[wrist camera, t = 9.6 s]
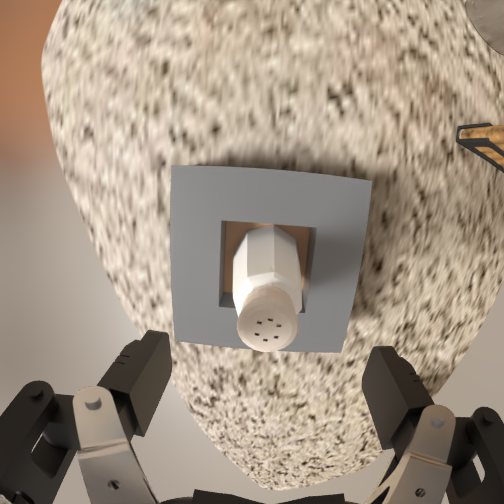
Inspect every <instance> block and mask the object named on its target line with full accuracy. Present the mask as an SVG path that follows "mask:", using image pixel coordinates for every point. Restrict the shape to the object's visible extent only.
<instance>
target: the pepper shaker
mask: <svg viewBox="0 0 504 504" xmlns="http://www.w3.org/2000/svg"><path fill="white" fill-rule="evenodd" d="M233 299H234V303H235V307H236V310H237V314H238V320H237V331H238V334H239V337H240V338H241V340H242V341H243V342H244V343H245V344H246V345H247V346H249V347H251V348H252V349H254V350H258V351H262V352H273V351H278V350H280V349H283V348H285V347H286V346H288V345H289V344H291V343H292V341H293V340H294V339H295V338H296V336H297V333H298V330H299V321H298V317H297V315H298V313H299V312H300V311H301V309H302V288H301V268H300V259H299V254H298V249H297V244H296V239H295V238H293V237H292V236H290V235H289V234H287V233H286V232H284V231H283V230H281V229H279V228H278V227H276V226H275V225H270V226H265V227H260V228H256V229H251V230H247V232H246V233H245V235H244V236H243V238H242V240H241V241H240V243H239V244H238V246H237V247H236V249H235V251H234V259H233Z"/></svg>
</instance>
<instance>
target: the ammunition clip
mask: <svg viewBox="0 0 504 504" xmlns="http://www.w3.org/2000/svg"><path fill="white" fill-rule="evenodd" d="M456 142H457V143H459V144H460V145H462V146H464V147H466V148H467V149H469V150H470V151H472V152H474V153H475V154H477V155H478V156H480V157H481V158H483V159H485V160H486V161H488V162H489V163H490V164H492V165H493V166H495V167H496V168H498V169H499V170H501V171H502V172H503V173H504V125H496V126H493V125H492V124H490V123H482V124H472V125H463V126H458V129H457V137H456Z"/></svg>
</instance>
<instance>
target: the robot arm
mask: <svg viewBox="0 0 504 504" xmlns="http://www.w3.org/2000/svg"><path fill="white" fill-rule="evenodd" d="M465 7H466V11H467V13H468V16H469V18H470V20H471V22H472V23H473V25H474V27H475V28H476V30H477V31H478V32H479V34H480V35H481V36H482V37H483V39H484V40H485V41H486V42H487V43H488V44H489V45H490V46H491V47H492V48H493V49H494V50H496V51H497V52H499V53H500V54H503V55H504V0H466V2H465ZM171 372H172V359H171V350H170V342H169V335H168V333H166V332H160V331H154V330H148V331H147V332H146V334H145V335H144V337H143V338H142V339H141V341H139V340H134V341H133V342H131V343H129V344H128V345H126V346H125V347H124V349H123V350H122V351H121V353H120V355H119V356H118V357H117V358H116V360H115V362H113V364H112V365H111V366H110V368H109V369H108V371H107V372H106V373H105V375H104V376H103V377H102V379H101V380H100V382H99V383H98V384H97V386H89V387H85V388H83V389H81V390H79V391H78V392H77V393H76V395H75V396H71V395H61V394H55V393H54V391H53V389H52V387H51V386H50V384H48V383H47V382H44V381H33V382H30V383H28V384H26V385H25V386H24V387H23V388H22V390H21V391H20V392H19V393H18V394H17V396H16V397H15V398H14V400H13V401H12V402H11V403H10V405H9V406H8V407H7V408H6V410H5V411H4V412H3V414H2V415H1V416H0V504H52V503H53V501H54V499H55V496H56V494H57V492H58V489H59V488H60V485H61V483H62V481H63V479H64V477H65V474H66V472H67V470H68V468H69V466H70V464H71V462H72V460H73V457H74V456H75V454H76V452H77V455H78V460H79V465H80V469H81V472H82V476H83V480H84V483H85V486H86V490H87V493H88V496H89V499H90V502H91V504H264V503H259V502H256V501H252V500H249V499H245V498H242V497H238V496H235V495H232V494H223V493H215V492H208V491H201V490H196V489H195V490H194V494H193V497H182V498H175V499H170V500H167V501H163V502H161V503H159V501H158V499H157V497H156V495H155V494H154V492H153V490H152V488H151V486H150V484H149V482H148V480H147V478H146V476H145V474H144V472H143V470H142V468H141V465H140V463H139V461H138V459H137V456H136V454H135V452H134V449H133V447H132V444H131V439H132V437H133V435H138V436H142V437H144V436H145V433H146V431H147V429H148V426H149V424H150V422H151V419H152V417H153V415H154V413H155V410H156V408H157V406H158V404H159V401H160V399H161V397H162V395H163V392H164V390H165V388H166V385H167V383H168V381H169V379H170V376H171ZM362 390H363V393H364V396H365V399H366V401H367V404H368V407H369V410H370V413H371V416H372V419H373V422H374V425H375V428H376V431H377V434H378V437H379V440H380V443H381V447H382V450H386V449H391V448H394V451H395V453H394V454H393V456H392V457H391V460H390V462H389V463H388V465H387V467H386V469H385V471H384V473H383V475H382V477H381V479H380V480H379V482H378V484H377V486H376V487H375V489H374V491H373V492H372V494H371V495H370V496H369V498H368V499H367V500H366V501H365V503H364V504H441V502H442V499H443V497H444V494H445V491H446V493H447V497H448V500H449V504H504V423H503V422H502V420H501V418H500V416H499V415H498V413H497V412H496V411H494V410H493V409H491V408H488V407H480V408H478V409H476V410H475V412H474V413H473V415H472V416H471V417H455V416H454V414H453V413H452V411H451V410H450V409H448V408H447V407H445V406H442V405H435V404H434V402H433V400H432V398H431V397H430V395H429V393H428V392H427V390H426V388H425V386H424V385H423V383H422V381H420V378H419V376H418V375H416V371H415V370H414V368H413V367H412V365H411V364H410V363H409V362H408V361H406V360H405V359H404V358H403V357H399V356H398V354H397V352H396V351H395V349H394V348H393V347H392V346H375V347H373V349H372V351H371V353H370V356H369V359H368V362H367V365H366V368H365V371H364V374H363V377H362ZM41 434H43V435H42V437H41V438H40V440H39V441H38V443H37V445H36V447H35V448H34V450H33V452H32V449H33V447H34V445H35V443H36V442H37V440H38V439H39V437H40V435H41ZM77 450H78V451H77ZM31 452H32V453H31ZM477 454H478V457H479V459H480V461H481V463H482V466H483V468H484V471H485V477H484V480H483V481H482V483H481V480H480V478H479V475H478V472H477V470H476V468H475V465H474V463H473V459H474V458H475V456H476V455H477ZM279 504H358V503H353V502H348V501H345V499H344V494H334V495H324V496H309V497H305V498H301V499H297V500H292V501H288V502H284V503H279Z"/></svg>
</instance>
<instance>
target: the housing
mask: <svg viewBox="0 0 504 504" xmlns="http://www.w3.org/2000/svg"><path fill="white" fill-rule="evenodd" d="M371 190H372V181H369V180H362V179H356V178H349V177H341V176H334V175H325V174H317V173H308V172H298V171H287V170H275V169H262V168H246V167H225V166H180V165H172V166H171V193H170V260H171V288H172V306H173V321H174V334H175V341H181V342H188V343H196V344H204V345H212V346H221V347H231V348H243V349H252V348H251V347H249V346H247V345H246V344H245V343H244V342H243V341H242V340H241V338H240V337H239V334H238V331H237V320H238V314H237V310H236V307H235V303H234V299H233V259H234V251H235V249H236V247H237V246H238V244H239V243H240V241H241V240H242V238H243V236H244V235H245V233H246V232H247V230H251V229H256V228H260V227H265V226H270V225H275V226H276V227H278V228H279V229H281V230H283V231H284V232H286V233H287V234H289V235H290V236H292V237H293V238H295V239H296V244H297V249H298V254H299V259H300V268H301V288H302V309H301V311H300V312H299V313H298V315H297V317H298V321H299V330H298V333H297V336H296V338H295V339H294V340H293V341H292V343H291V344H289V345H288V346H286V347H285V348H283V349H280V350H278V351H289V352H333V353H338V352H341V351H342V347H343V343H344V340H345V336H346V332H347V328H348V324H349V320H350V315H351V311H352V307H353V302H354V298H355V293H356V288H357V283H358V278H359V273H360V267H361V262H362V256H363V250H364V244H365V237H366V231H367V223H368V216H369V208H370V199H371Z"/></svg>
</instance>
